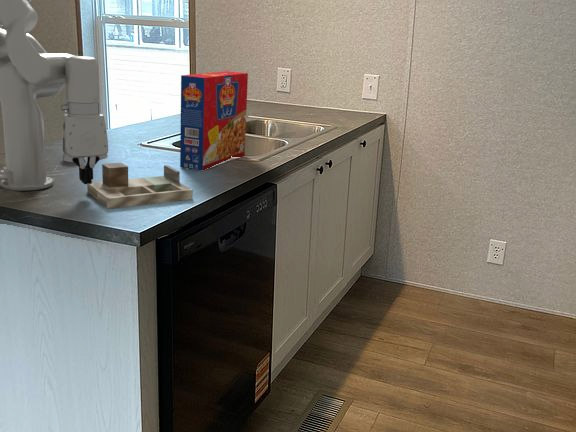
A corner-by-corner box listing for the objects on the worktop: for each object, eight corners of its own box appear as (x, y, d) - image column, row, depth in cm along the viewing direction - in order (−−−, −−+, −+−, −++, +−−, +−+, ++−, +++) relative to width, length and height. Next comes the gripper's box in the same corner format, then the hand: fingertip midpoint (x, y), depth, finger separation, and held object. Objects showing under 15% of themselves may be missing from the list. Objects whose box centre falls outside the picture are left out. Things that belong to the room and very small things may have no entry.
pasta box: (202, 171, 193) (204, 77, 185) (180, 167, 196) (181, 75, 187) (244, 156, 218) (247, 73, 209) (224, 153, 220) (226, 71, 212)
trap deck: (108, 208, 151) (107, 186, 149) (87, 192, 163) (86, 171, 161) (192, 199, 163) (192, 178, 161) (167, 184, 175) (167, 165, 173)
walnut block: (109, 187, 159) (108, 168, 158) (102, 182, 163) (102, 163, 162) (128, 185, 162) (128, 166, 160) (121, 181, 166) (121, 162, 164)
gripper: (55, 112, 146) (59, 189, 151) (119, 110, 154) (120, 183, 159) (47, 107, 152) (51, 182, 157) (108, 106, 160) (110, 177, 165)
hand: (86, 182), depth 158 cm, fingers closed
